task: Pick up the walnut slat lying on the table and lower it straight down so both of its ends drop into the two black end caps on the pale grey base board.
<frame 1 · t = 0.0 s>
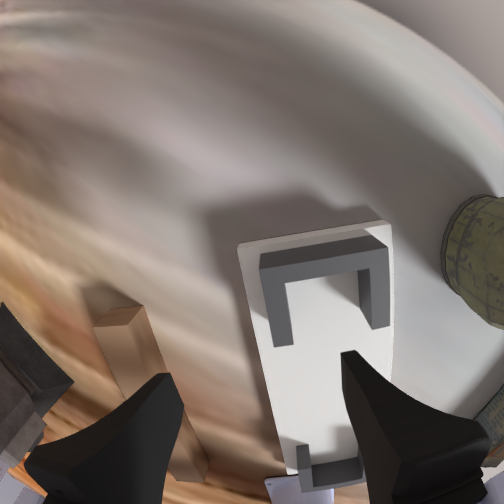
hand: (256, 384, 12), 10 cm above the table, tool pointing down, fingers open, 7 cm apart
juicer: (10, 389, 29), on the table
walnut slat: (165, 398, 26), on the table
olive stone pillar: (479, 246, 20), on the table
end cap cradle: (329, 378, 23), on the table
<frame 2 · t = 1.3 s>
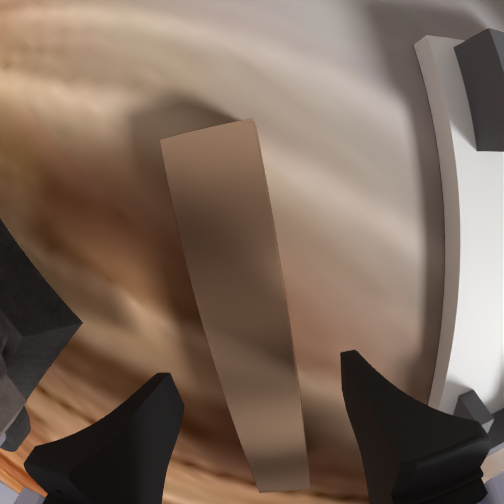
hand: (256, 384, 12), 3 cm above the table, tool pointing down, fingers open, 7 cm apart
walnut slat: (261, 339, 15), on the table
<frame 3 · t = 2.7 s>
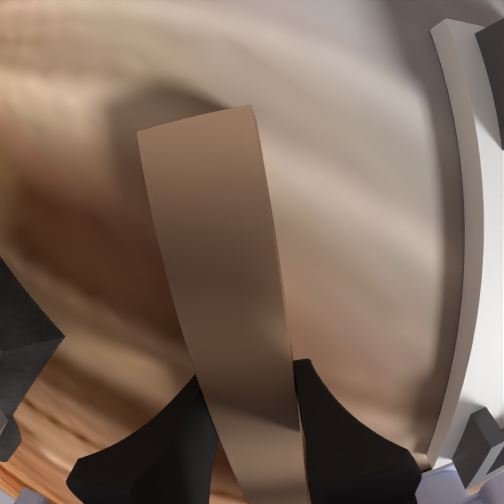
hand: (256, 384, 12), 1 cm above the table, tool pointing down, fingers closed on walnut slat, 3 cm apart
walnut slat: (258, 362, 13), on the table, touching gripper
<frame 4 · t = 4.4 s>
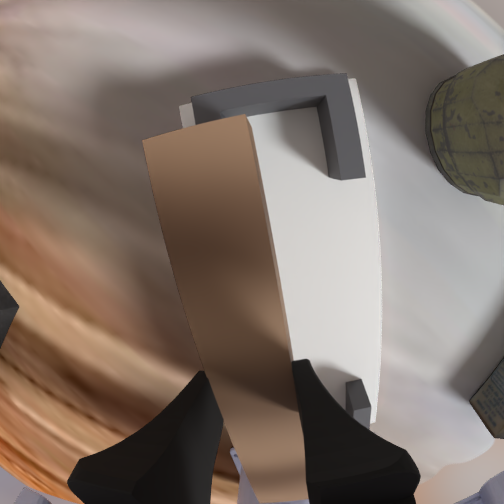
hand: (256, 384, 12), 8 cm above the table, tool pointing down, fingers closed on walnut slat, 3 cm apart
walnut slat: (258, 350, 14), point 6 cm above the table, touching gripper
olive stone pillar: (471, 134, 16), on the table
end cap cradle: (300, 291, 20), on the table
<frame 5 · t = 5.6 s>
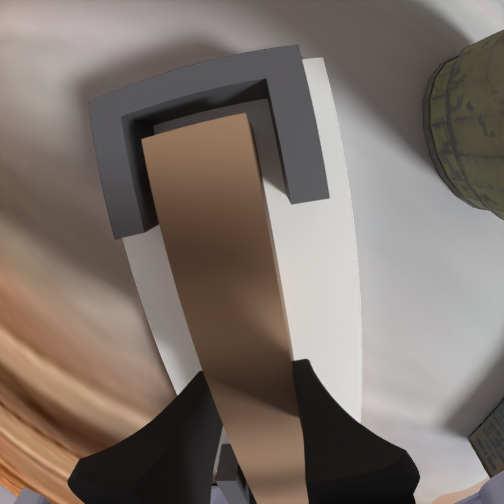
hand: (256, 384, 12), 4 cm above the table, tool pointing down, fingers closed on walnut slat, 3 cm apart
walnut slat: (259, 353, 14), point 1 cm above the table, touching end cap cradle, gripper
olive stone pillar: (482, 131, 12), on the table
end cap cradle: (259, 336, 16), on the table
when the fingers open (4 cm above the table, at t = 6.2 s): walnut slat stays where it is, resting on end cap cradle.
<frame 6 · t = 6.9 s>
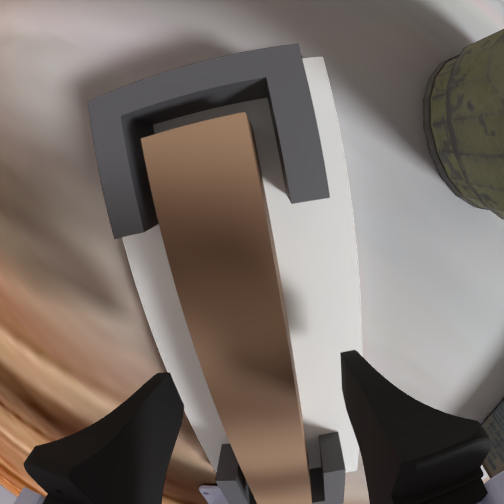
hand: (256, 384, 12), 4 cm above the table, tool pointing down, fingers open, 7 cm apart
walnut slat: (258, 353, 14), point 1 cm above the table, touching end cap cradle
olive stone pillar: (482, 130, 12), on the table
end cap cradle: (259, 335, 16), on the table
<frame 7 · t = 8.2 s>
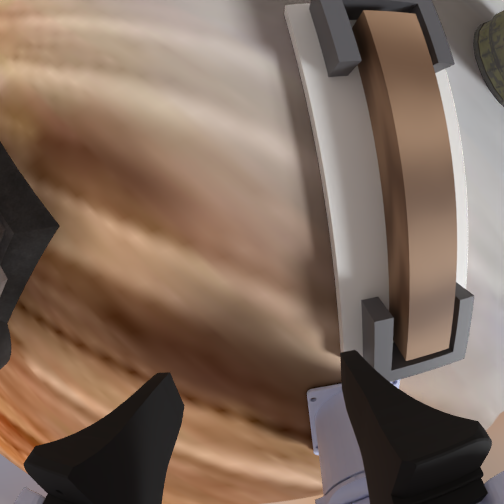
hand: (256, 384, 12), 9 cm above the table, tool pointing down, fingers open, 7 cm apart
walnut slat: (404, 186, 17), point 1 cm above the table, touching end cap cradle
end cap cradle: (395, 182, 18), on the table
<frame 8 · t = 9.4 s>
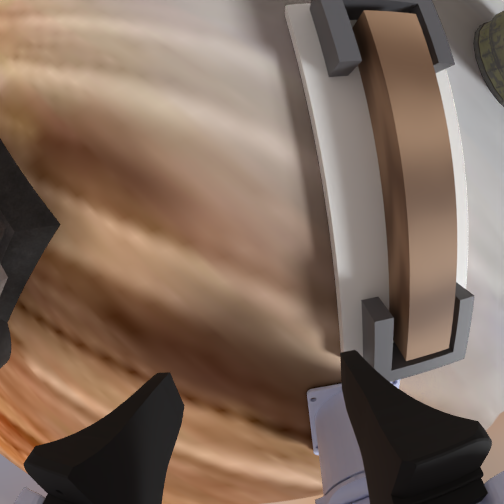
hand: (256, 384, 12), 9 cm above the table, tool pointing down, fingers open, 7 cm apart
walnut slat: (404, 186, 17), point 1 cm above the table, touching end cap cradle
end cap cradle: (395, 182, 18), on the table
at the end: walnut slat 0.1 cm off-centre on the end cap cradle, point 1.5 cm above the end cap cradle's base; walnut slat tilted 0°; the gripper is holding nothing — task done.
